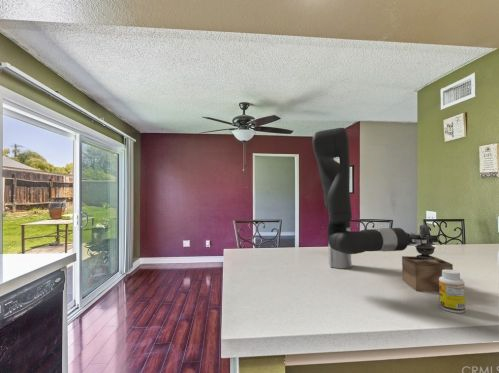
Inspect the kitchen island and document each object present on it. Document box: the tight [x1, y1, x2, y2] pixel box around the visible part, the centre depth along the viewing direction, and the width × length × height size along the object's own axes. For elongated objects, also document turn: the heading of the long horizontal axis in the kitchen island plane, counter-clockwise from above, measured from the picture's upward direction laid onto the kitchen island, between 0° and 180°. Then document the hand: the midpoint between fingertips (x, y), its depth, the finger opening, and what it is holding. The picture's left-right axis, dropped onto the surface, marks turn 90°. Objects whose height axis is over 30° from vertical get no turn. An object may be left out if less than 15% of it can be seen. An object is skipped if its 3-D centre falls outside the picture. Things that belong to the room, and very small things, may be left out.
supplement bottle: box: [438, 269, 466, 314], centre depth 75 cm, size 6×6×10 cm
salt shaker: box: [414, 222, 436, 259], centre depth 94 cm, size 6×6×12 cm
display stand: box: [401, 255, 454, 293], centre depth 94 cm, size 11×11×9 cm
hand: (431, 237), depth 95 cm, fingers closed on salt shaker, 3 cm apart
